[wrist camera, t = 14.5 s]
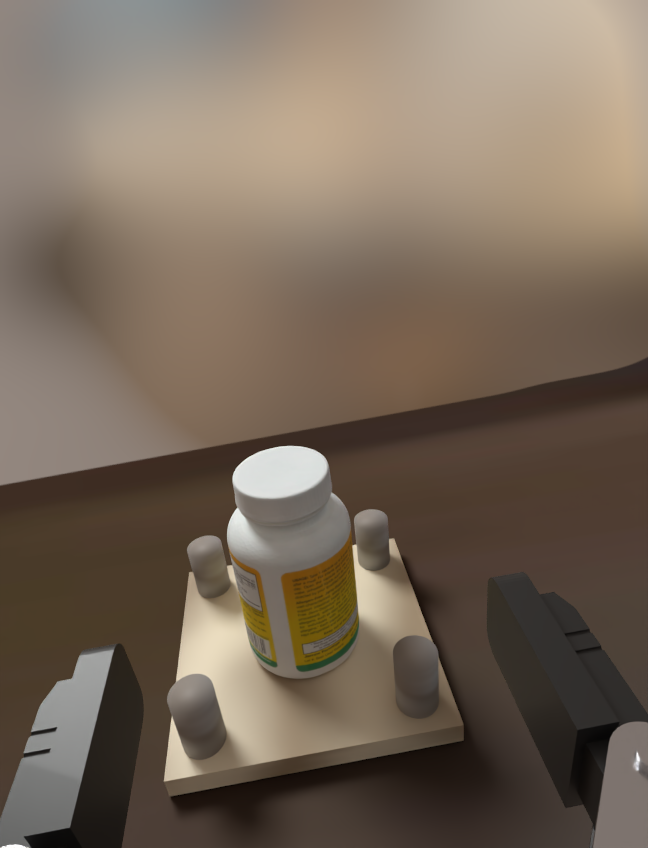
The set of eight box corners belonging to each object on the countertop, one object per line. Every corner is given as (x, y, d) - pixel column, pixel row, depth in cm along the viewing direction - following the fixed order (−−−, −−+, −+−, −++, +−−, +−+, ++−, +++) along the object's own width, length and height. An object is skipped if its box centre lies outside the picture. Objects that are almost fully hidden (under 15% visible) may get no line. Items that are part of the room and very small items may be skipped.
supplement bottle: (234, 674, 26) (190, 503, 22) (272, 590, 31) (242, 435, 26) (348, 692, 25) (325, 513, 20) (370, 602, 29) (356, 439, 25)
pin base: (394, 551, 34) (391, 499, 32) (463, 740, 23) (464, 677, 22) (192, 585, 33) (178, 533, 32) (169, 796, 23) (146, 736, 21)
